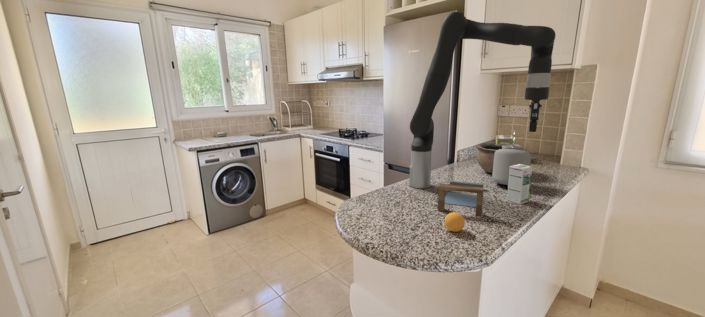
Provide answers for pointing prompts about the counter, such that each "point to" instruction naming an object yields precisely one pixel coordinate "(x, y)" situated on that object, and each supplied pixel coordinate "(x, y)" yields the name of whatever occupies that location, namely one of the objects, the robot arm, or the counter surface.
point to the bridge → (463, 189)
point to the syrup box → (519, 183)
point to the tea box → (505, 139)
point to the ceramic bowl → (489, 154)
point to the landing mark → (461, 199)
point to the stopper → (466, 184)
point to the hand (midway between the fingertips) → (532, 130)
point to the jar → (508, 162)
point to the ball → (454, 222)
